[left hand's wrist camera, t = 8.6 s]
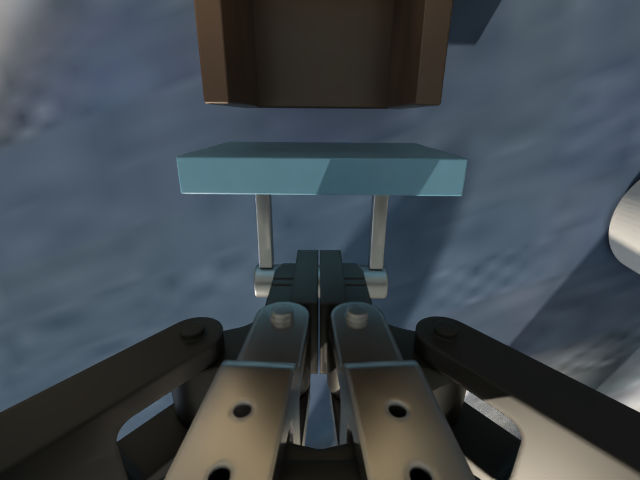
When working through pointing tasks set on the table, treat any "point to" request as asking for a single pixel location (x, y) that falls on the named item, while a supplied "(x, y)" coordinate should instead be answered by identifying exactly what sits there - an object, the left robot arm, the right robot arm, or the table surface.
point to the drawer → (322, 106)
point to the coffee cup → (627, 229)
